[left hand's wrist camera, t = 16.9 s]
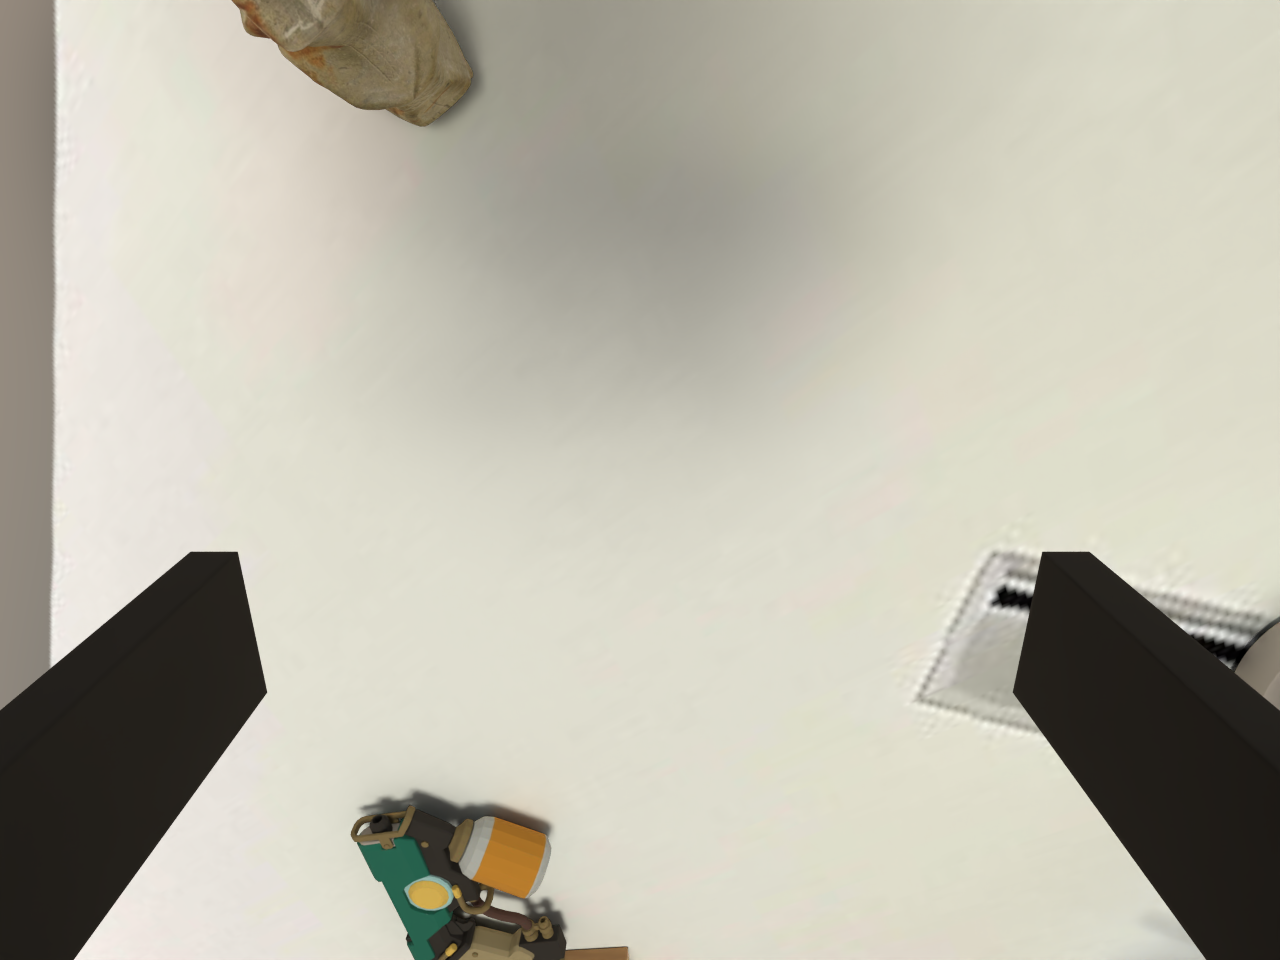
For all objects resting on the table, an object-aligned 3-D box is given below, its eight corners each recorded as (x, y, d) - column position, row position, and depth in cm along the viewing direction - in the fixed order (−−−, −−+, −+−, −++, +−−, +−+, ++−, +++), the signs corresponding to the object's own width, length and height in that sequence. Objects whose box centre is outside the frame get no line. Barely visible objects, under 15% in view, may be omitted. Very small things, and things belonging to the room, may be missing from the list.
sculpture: (408, -64, 36) (262, -216, 22) (504, 78, 38) (427, 22, 24) (316, 18, 37) (123, -78, 23) (414, 151, 39) (291, 137, 26)
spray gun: (567, 954, 61) (379, 938, 62) (574, 800, 54) (361, 783, 55) (560, 1010, 58) (359, 993, 58) (566, 852, 51) (337, 833, 51)
